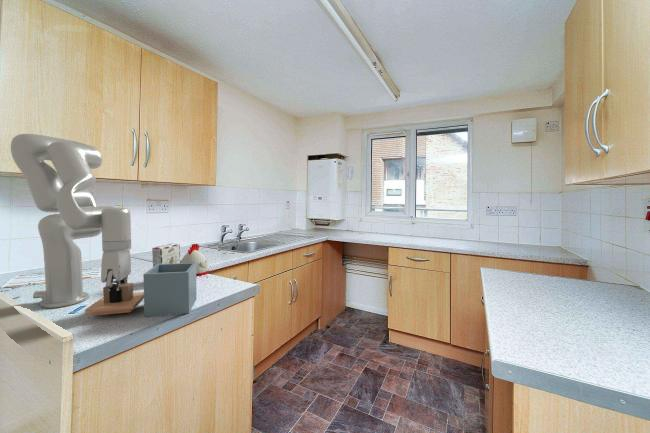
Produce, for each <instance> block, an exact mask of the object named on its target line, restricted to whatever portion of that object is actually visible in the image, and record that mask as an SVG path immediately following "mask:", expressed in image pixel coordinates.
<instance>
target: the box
mask: <svg viewBox="0 0 650 433" xmlns="http://www.w3.org/2000/svg"><path fill="white" fill-rule="evenodd" d="M143 292H144V298H143V309H144V310H143V311H144V313H143V315H144V318H148V317H149V318H151V317H163V316H174V315H175V316H176V315H185V314H190V312H191V310H192V308H193V307H194V305H195V303H196V301H197V277H196V263H175V264H157V265H155V266H154V267H153V266H152V267H151V268H150V269H149V270H147V271H146V272H144V273H143Z"/></svg>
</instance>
